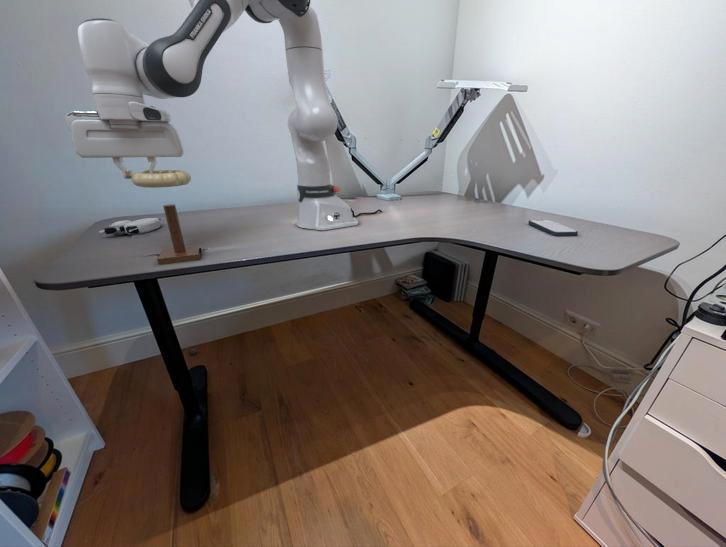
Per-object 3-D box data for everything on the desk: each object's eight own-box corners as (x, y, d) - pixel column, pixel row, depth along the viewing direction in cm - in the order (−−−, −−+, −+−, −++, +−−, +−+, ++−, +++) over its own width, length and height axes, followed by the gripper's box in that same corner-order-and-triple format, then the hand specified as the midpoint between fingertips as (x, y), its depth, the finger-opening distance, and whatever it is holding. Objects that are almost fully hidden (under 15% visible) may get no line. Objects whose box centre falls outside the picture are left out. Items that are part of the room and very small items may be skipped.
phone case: (579, 236, 103) (548, 223, 118) (580, 231, 102) (549, 219, 117) (553, 237, 102) (526, 224, 117) (555, 232, 102) (527, 219, 116)
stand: (201, 249, 88) (191, 200, 83) (199, 259, 80) (187, 207, 75) (164, 253, 85) (151, 203, 79) (158, 264, 77) (144, 210, 72)
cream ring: (193, 181, 82) (191, 169, 81) (189, 187, 72) (186, 173, 71) (140, 182, 78) (136, 170, 77) (127, 189, 68) (123, 175, 67)
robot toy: (99, 242, 96) (146, 238, 96) (93, 227, 94) (141, 224, 94) (127, 231, 107) (169, 228, 107) (122, 218, 106) (165, 215, 105)
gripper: (55, 108, 61) (79, 181, 67) (174, 112, 68) (187, 178, 74) (68, 110, 67) (90, 178, 72) (177, 114, 74) (189, 175, 79)
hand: (140, 178), depth 73 cm, fingers closed on cream ring, 3 cm apart
